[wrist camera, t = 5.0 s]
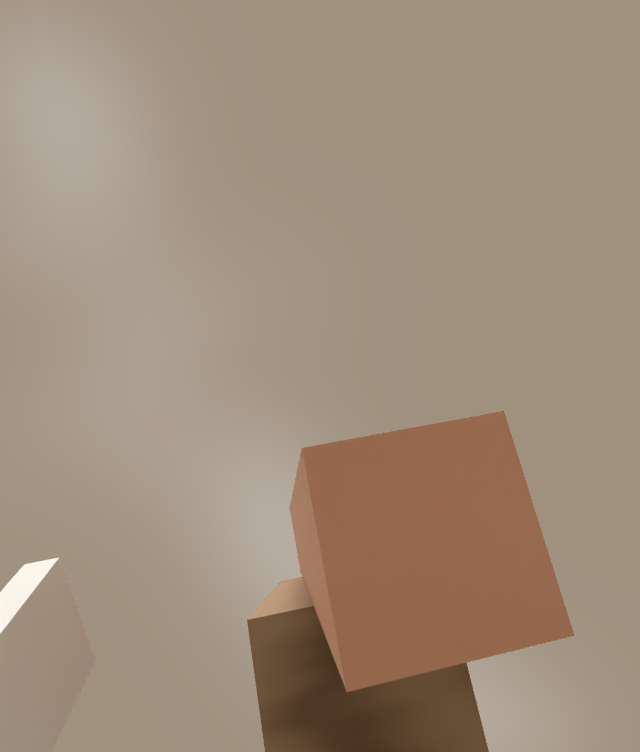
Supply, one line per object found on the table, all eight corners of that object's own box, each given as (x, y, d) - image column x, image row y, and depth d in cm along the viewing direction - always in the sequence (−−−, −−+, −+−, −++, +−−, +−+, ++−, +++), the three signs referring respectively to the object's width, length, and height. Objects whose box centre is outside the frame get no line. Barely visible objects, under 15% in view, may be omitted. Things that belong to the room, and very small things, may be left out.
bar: (346, 692, 8) (301, 448, 9) (300, 571, 31) (289, 507, 32) (573, 635, 8) (503, 410, 9) (361, 558, 31) (348, 495, 32)
